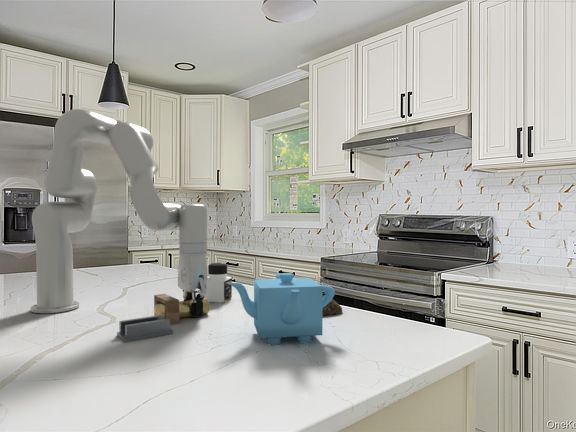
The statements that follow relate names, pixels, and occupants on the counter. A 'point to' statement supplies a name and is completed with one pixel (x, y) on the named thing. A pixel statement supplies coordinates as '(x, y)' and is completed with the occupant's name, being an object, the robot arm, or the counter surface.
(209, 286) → the medicine bottle
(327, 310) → the bread roll
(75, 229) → the robot arm
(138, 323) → the cradle
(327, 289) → the teakettle
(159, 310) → the axle
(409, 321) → the counter surface
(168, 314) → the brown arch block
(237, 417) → the counter surface
